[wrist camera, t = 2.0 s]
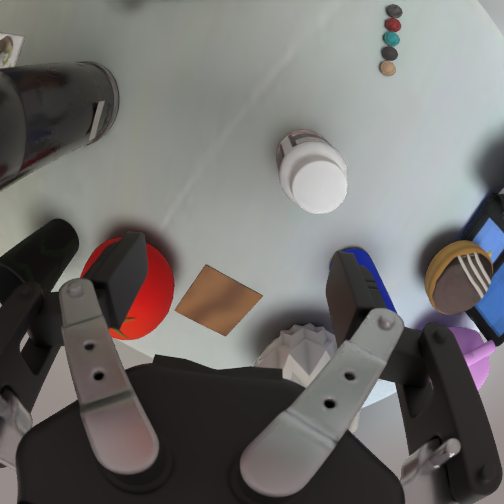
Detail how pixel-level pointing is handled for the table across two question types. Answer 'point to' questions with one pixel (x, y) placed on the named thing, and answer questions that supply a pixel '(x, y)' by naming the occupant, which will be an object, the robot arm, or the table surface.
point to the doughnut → (458, 277)
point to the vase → (302, 355)
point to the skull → (502, 197)
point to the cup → (38, 258)
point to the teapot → (474, 352)
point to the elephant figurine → (10, 49)
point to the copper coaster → (217, 301)
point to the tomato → (144, 295)
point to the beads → (391, 40)
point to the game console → (500, 290)
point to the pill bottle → (311, 172)
